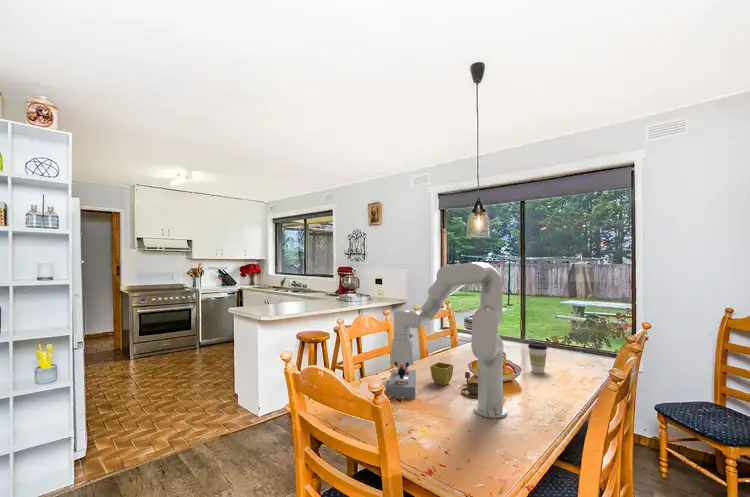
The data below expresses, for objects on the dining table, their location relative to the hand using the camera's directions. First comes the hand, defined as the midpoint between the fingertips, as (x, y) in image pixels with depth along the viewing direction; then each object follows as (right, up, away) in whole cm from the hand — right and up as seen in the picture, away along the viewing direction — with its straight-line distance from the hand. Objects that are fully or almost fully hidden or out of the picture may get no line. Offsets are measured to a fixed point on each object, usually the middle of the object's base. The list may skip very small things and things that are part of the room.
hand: (401, 377), depth 162 cm
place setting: (+35, -8, +2) cm, 36 cm away
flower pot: (+21, -8, +13) cm, 26 cm away
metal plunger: (0, -6, 0) cm, 6 cm away
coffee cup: (+78, -9, +33) cm, 85 cm away
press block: (+1, -8, +6) cm, 10 cm away
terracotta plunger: (+2, -4, +14) cm, 14 cm away
